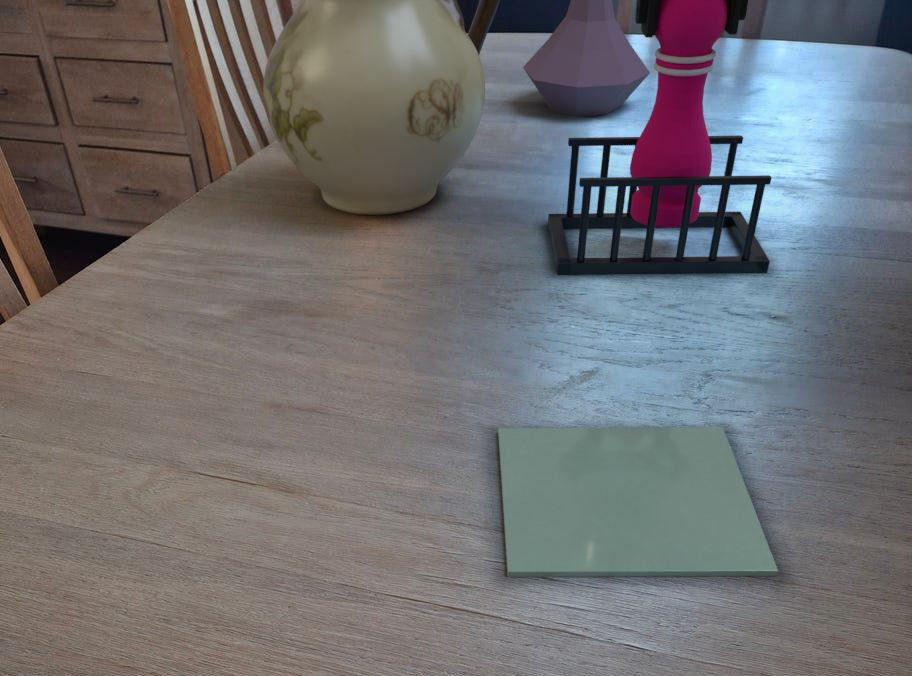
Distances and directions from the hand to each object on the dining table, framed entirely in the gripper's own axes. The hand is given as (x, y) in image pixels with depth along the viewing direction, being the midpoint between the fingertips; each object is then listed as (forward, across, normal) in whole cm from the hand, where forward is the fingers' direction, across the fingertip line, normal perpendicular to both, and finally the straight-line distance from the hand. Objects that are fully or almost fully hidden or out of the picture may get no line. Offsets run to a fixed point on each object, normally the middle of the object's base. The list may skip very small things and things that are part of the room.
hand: (688, 30), depth 79 cm
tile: (+18, -9, -41) cm, 45 cm away
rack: (+18, -1, 0) cm, 18 cm away
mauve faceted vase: (+18, -3, +47) cm, 51 cm away
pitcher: (+18, -28, +16) cm, 37 cm away
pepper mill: (+15, 0, 0) cm, 15 cm away
